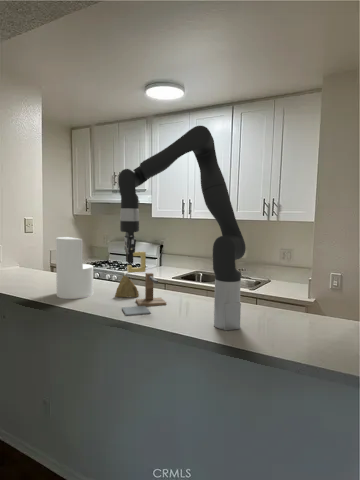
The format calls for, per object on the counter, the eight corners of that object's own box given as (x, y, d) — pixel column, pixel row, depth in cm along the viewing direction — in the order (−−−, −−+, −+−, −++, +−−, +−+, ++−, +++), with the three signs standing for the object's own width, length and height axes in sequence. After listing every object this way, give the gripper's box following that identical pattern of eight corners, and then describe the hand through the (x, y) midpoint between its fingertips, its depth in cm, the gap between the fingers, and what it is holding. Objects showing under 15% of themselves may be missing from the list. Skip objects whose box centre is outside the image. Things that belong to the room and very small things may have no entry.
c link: (145, 271, 135) (145, 252, 134) (128, 272, 133) (128, 252, 132) (143, 270, 138) (143, 251, 137) (127, 271, 135) (127, 251, 135)
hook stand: (169, 307, 142) (170, 278, 141) (142, 309, 138) (142, 279, 137) (160, 299, 156) (161, 272, 155) (135, 301, 152) (135, 273, 151)
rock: (144, 291, 162) (130, 285, 168) (138, 279, 157) (124, 273, 163) (130, 307, 157) (116, 300, 162) (124, 295, 151) (109, 289, 157)
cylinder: (65, 300, 151) (64, 239, 148) (51, 293, 164) (50, 237, 161) (99, 295, 162) (99, 238, 160) (84, 288, 175) (83, 236, 173)
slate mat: (150, 313, 133) (150, 312, 133) (126, 315, 130) (126, 314, 130) (144, 306, 143) (144, 305, 143) (121, 308, 140) (121, 307, 140)
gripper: (142, 220, 127) (142, 264, 129) (135, 219, 140) (135, 259, 142) (123, 220, 125) (123, 265, 126) (117, 219, 138) (117, 260, 139)
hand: (129, 262), depth 134 cm, fingers closed on c link, 3 cm apart
